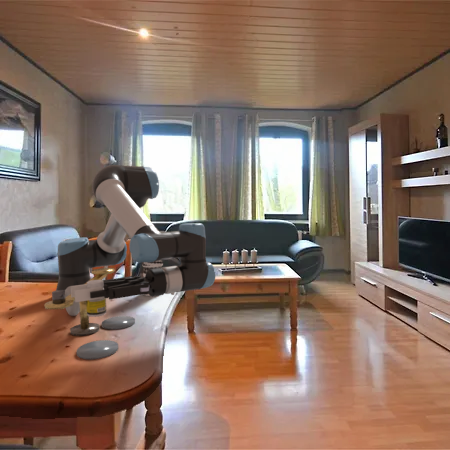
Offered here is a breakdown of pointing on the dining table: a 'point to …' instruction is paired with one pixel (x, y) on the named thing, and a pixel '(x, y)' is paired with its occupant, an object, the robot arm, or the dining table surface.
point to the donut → (75, 307)
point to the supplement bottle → (96, 301)
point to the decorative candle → (151, 267)
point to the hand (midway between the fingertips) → (73, 294)
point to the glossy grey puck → (118, 322)
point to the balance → (62, 302)
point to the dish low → (97, 349)
